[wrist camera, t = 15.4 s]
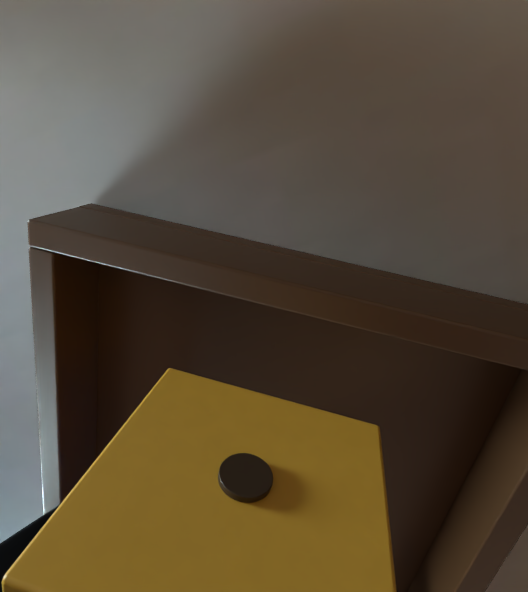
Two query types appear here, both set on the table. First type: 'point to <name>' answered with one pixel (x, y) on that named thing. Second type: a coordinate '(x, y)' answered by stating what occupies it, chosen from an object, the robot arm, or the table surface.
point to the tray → (291, 368)
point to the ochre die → (220, 502)
